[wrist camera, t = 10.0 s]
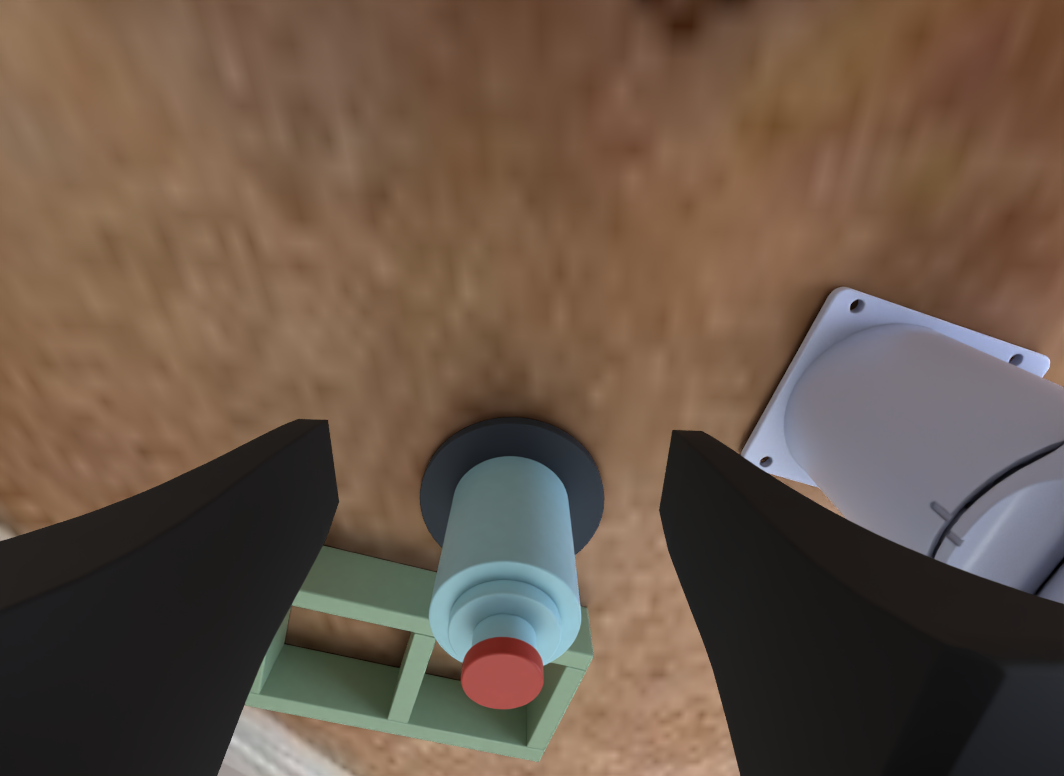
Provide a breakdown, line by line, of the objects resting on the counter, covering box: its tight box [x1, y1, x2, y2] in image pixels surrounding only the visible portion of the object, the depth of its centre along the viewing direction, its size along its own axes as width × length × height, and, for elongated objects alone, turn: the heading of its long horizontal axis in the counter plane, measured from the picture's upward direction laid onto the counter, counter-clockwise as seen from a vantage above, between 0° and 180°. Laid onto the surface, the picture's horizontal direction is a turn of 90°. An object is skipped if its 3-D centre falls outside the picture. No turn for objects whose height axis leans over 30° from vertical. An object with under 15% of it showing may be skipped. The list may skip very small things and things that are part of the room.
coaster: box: [420, 417, 604, 555], centre depth 23 cm, size 8×8×1 cm
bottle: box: [429, 456, 581, 709], centre depth 19 cm, size 5×5×8 cm
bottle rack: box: [245, 546, 594, 762], centre depth 25 cm, size 8×15×3 cm, turn 72°
